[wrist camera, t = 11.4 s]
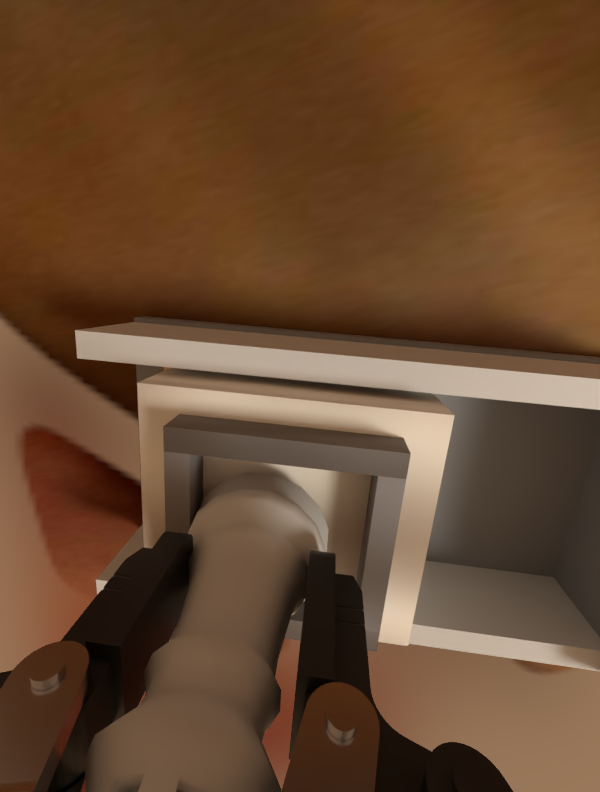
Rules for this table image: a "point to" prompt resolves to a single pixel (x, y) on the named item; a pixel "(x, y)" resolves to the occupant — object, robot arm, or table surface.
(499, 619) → the crate bay
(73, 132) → the table surface
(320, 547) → the rook chess piece
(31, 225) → the table surface
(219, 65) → the table surface
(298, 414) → the frame
